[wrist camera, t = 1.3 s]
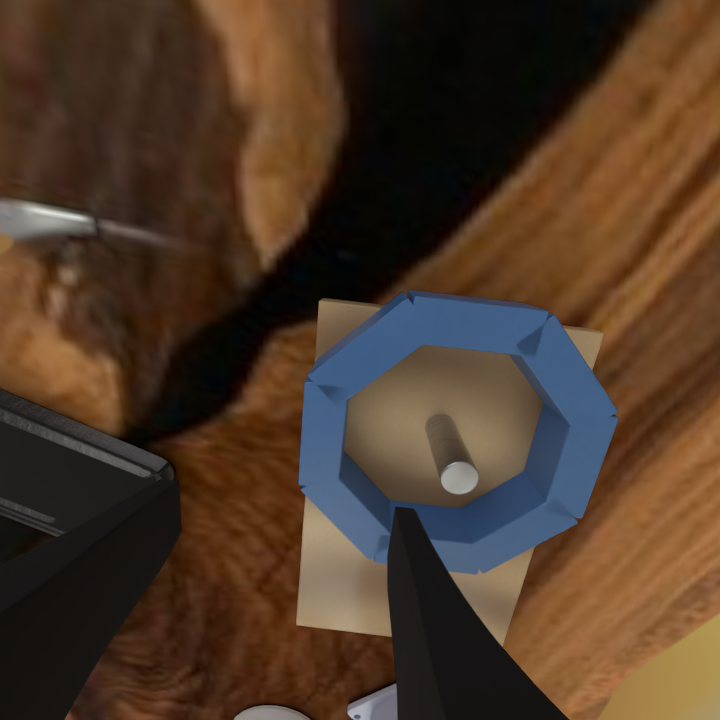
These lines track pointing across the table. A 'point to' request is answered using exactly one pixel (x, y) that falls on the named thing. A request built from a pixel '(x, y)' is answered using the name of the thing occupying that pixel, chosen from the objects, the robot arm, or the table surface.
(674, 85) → the table surface
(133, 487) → the phone
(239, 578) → the table surface
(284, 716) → the mug
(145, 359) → the table surface
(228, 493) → the table surface
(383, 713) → the robot arm
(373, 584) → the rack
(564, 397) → the ring
